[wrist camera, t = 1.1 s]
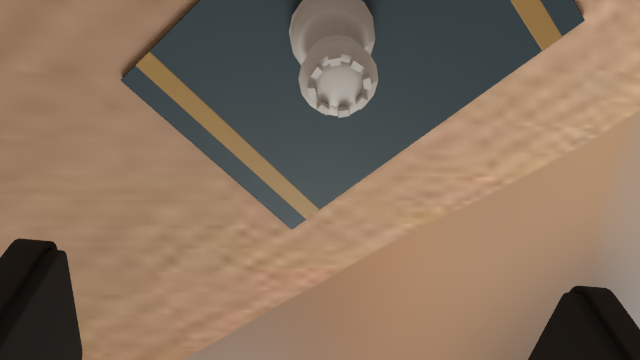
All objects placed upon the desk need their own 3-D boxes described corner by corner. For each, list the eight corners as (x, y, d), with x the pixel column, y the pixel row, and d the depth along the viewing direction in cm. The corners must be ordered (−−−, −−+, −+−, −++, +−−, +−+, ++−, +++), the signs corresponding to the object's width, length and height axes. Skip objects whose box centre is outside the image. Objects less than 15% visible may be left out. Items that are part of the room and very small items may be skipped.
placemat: (436, -238, 21) (438, -240, 21) (582, 19, 27) (585, 20, 27) (121, 78, 28) (120, 80, 28) (291, 227, 34) (291, 230, 34)
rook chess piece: (377, -14, 25) (402, 32, 19) (370, 71, 28) (390, 139, 21) (288, -15, 25) (281, 31, 19) (289, 70, 28) (283, 138, 21)
